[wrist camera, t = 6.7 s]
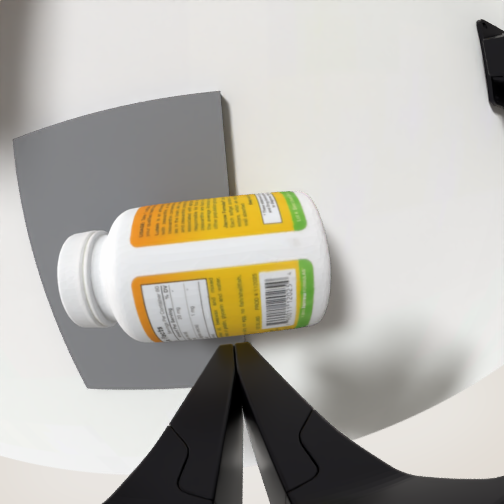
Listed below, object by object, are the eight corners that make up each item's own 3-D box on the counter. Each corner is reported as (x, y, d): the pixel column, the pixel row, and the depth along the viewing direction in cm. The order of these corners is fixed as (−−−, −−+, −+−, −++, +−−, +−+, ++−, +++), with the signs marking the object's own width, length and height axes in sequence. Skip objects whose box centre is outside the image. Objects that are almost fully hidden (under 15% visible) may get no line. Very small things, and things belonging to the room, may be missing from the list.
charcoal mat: (220, 93, 12) (220, 90, 12) (248, 375, 18) (249, 381, 18) (18, 139, 12) (12, 139, 11) (89, 382, 17) (87, 388, 17)
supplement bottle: (290, 214, 15) (103, 234, 15) (317, 166, 10) (50, 198, 9) (304, 322, 14) (108, 339, 14) (343, 327, 9) (51, 349, 8)
